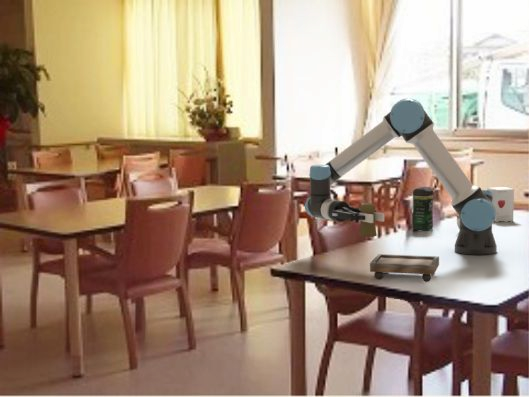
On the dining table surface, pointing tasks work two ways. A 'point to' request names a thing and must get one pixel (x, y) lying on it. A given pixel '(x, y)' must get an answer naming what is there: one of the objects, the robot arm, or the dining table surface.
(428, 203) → the coffee jar
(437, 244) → the dining table surface
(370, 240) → the dining table surface
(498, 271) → the dining table surface
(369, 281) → the dining table surface
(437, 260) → the cart
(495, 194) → the supplement box
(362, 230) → the cork
